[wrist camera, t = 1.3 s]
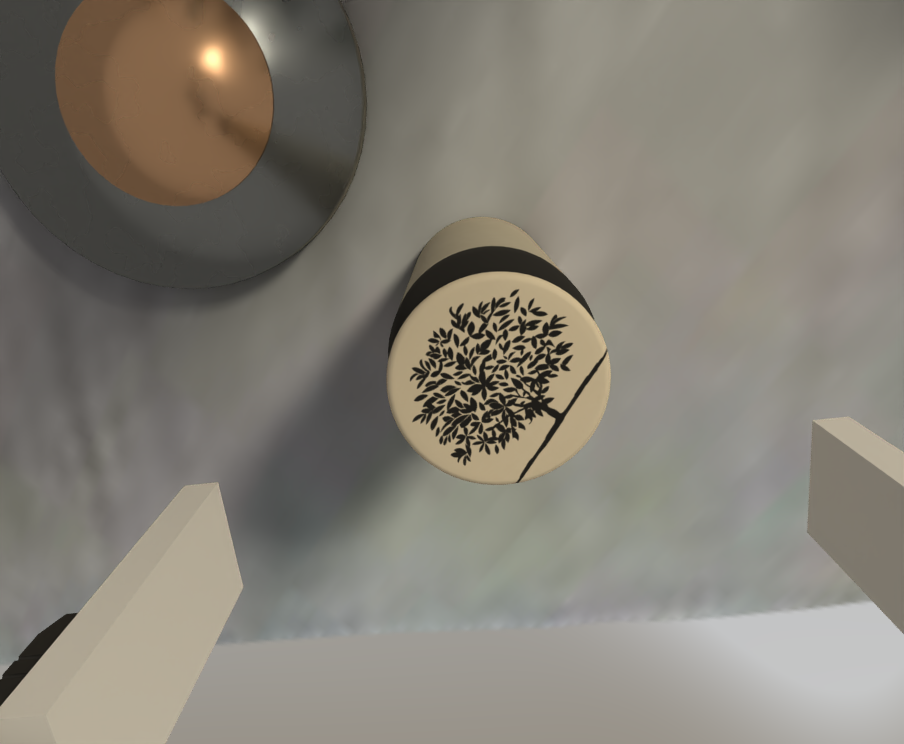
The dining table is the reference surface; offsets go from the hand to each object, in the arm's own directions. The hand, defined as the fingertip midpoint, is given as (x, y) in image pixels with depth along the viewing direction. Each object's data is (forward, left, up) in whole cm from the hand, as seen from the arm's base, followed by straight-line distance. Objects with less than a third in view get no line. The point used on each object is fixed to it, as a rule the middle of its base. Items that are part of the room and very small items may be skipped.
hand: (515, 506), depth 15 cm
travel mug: (0, 0, -26) cm, 26 cm away
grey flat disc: (+15, -12, -26) cm, 32 cm away
